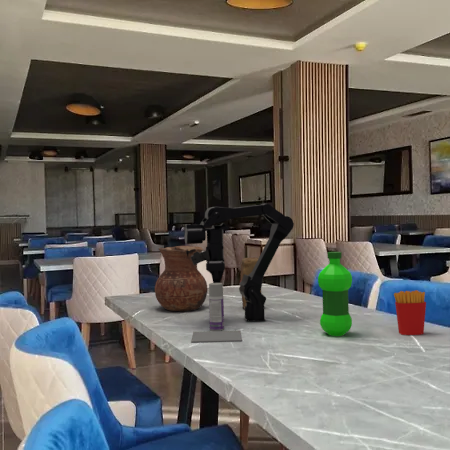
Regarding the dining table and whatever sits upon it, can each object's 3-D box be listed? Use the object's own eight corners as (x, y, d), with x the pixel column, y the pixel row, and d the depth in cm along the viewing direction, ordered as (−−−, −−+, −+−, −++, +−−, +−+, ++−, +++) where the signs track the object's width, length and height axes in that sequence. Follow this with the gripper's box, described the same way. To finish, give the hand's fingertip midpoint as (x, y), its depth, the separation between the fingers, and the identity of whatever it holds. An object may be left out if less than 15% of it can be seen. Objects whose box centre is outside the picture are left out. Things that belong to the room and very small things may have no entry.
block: (262, 310, 204) (261, 258, 204) (243, 310, 204) (241, 259, 203) (259, 305, 215) (257, 256, 215) (240, 306, 215) (239, 257, 214)
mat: (240, 331, 167) (240, 330, 167) (242, 341, 154) (242, 339, 154) (193, 332, 167) (193, 331, 167) (191, 342, 154) (191, 341, 154)
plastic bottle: (340, 329, 167) (338, 250, 167) (360, 335, 158) (358, 252, 157) (313, 332, 164) (311, 252, 163) (331, 339, 154) (329, 254, 153)
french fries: (422, 331, 161) (421, 289, 161) (428, 334, 157) (427, 291, 157) (392, 332, 161) (392, 290, 161) (397, 335, 157) (397, 292, 156)
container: (216, 327, 175) (215, 282, 174) (227, 329, 172) (225, 283, 171) (206, 330, 171) (205, 284, 171) (217, 331, 168) (216, 284, 168)
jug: (215, 310, 206) (213, 246, 205) (163, 315, 198) (161, 249, 198) (197, 302, 226) (195, 244, 226) (149, 306, 219) (147, 246, 218)
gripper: (193, 242, 191) (194, 285, 191) (190, 245, 172) (191, 292, 173) (223, 241, 191) (224, 284, 191) (224, 244, 173) (225, 291, 173)
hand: (216, 288), depth 182 cm, fingers open, 3 cm apart
